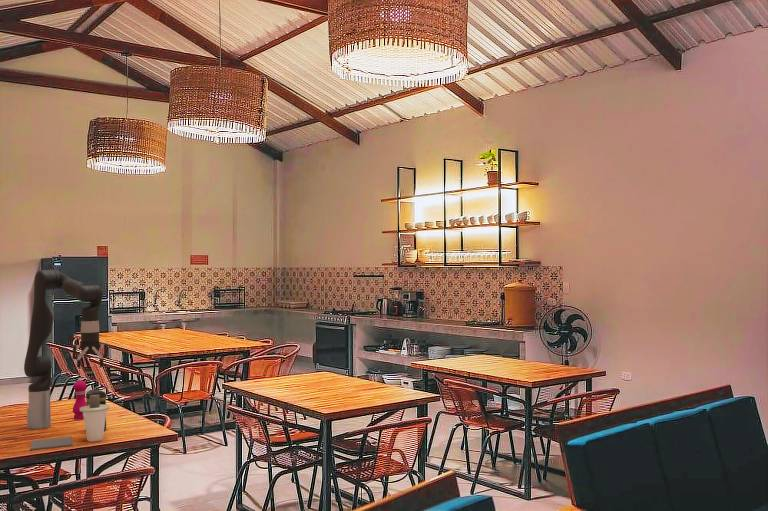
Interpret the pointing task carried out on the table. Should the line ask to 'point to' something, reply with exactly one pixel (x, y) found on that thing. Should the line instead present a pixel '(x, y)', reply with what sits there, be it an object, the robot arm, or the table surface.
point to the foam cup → (94, 425)
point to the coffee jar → (101, 398)
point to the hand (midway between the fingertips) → (90, 367)
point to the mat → (51, 443)
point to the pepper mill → (79, 399)
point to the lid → (94, 405)
